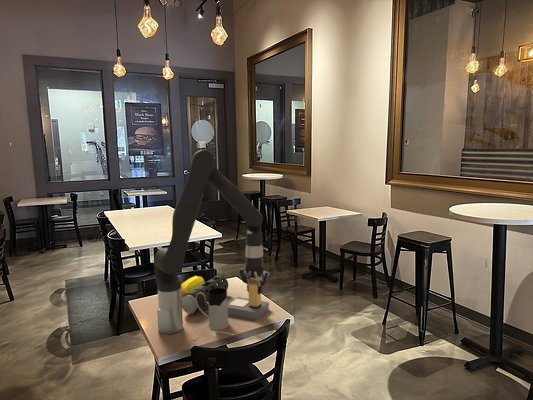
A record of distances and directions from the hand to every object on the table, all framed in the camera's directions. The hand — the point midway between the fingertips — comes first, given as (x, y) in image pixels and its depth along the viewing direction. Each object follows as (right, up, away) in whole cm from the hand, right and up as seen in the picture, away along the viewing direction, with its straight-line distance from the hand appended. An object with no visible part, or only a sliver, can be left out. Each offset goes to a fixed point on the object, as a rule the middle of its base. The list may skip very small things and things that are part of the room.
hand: (254, 292), depth 166 cm
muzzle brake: (-23, -9, +13) cm, 28 cm away
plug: (0, -5, +1) cm, 5 cm away
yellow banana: (-33, -7, +30) cm, 45 cm away
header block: (-4, -10, +3) cm, 11 cm away
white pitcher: (-17, -12, -8) cm, 22 cm away
